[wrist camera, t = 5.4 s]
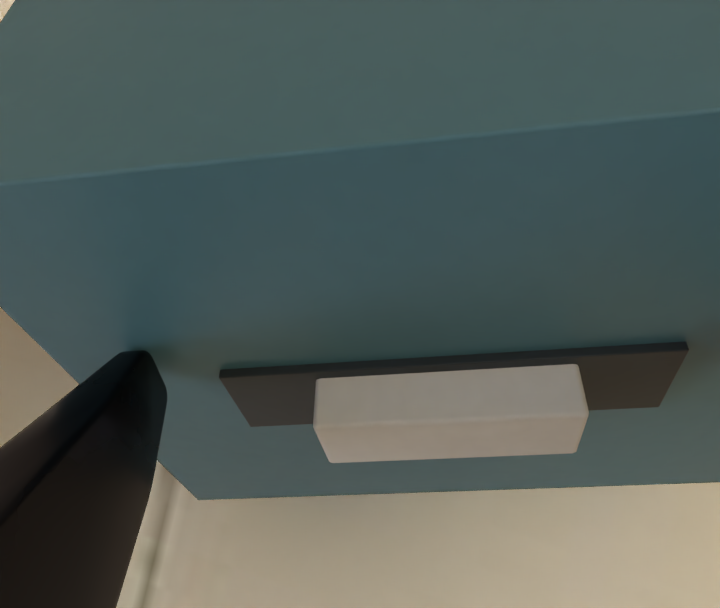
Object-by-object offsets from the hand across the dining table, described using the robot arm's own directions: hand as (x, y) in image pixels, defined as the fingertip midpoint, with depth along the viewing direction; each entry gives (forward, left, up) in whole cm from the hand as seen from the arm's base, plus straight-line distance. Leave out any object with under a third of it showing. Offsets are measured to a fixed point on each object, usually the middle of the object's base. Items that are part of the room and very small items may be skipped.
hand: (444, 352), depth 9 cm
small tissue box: (0, 0, -7) cm, 7 cm away
